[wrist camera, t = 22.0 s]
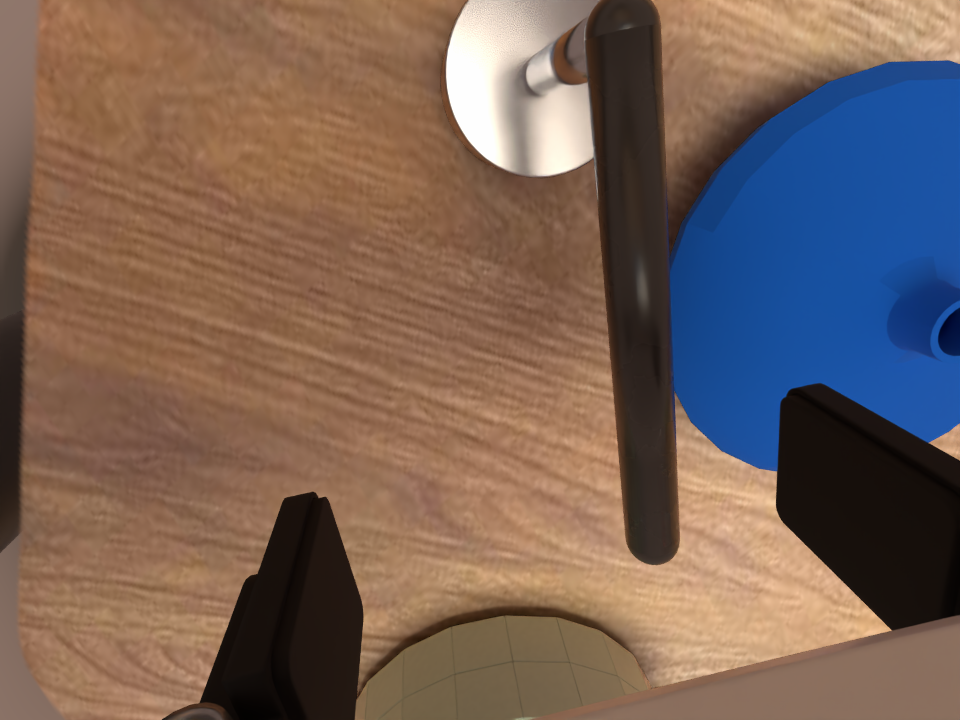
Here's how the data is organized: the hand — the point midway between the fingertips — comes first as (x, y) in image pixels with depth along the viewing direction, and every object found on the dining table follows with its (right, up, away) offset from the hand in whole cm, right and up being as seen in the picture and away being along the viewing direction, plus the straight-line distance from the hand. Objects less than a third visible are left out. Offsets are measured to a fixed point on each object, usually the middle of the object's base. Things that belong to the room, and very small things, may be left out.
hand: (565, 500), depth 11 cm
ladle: (+1, +8, +10) cm, 13 cm away
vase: (+12, +6, +13) cm, 19 cm away
